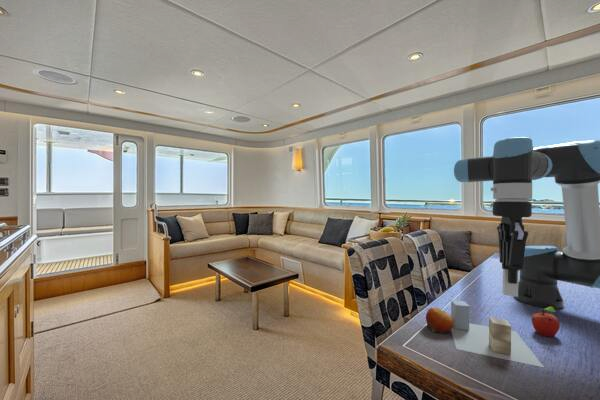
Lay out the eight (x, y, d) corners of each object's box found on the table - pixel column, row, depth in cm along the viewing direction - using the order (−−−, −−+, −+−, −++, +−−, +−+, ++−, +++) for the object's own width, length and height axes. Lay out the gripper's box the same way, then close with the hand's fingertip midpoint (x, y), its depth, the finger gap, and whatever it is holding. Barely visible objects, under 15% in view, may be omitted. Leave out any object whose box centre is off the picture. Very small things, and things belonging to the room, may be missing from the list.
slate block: (464, 325, 85) (464, 301, 85) (469, 331, 81) (469, 306, 81) (451, 323, 86) (451, 300, 86) (455, 329, 82) (455, 305, 82)
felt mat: (515, 332, 81) (515, 331, 81) (544, 369, 64) (544, 367, 64) (447, 320, 89) (447, 319, 89) (456, 350, 71) (456, 349, 71)
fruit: (415, 320, 86) (427, 300, 86) (434, 331, 86) (445, 311, 87) (429, 333, 78) (442, 310, 78) (450, 345, 78) (462, 322, 79)
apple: (524, 329, 83) (524, 299, 83) (543, 329, 83) (543, 298, 83) (548, 343, 75) (549, 309, 75) (569, 342, 76) (570, 309, 76)
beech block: (505, 347, 72) (506, 319, 72) (510, 355, 68) (511, 326, 68) (488, 344, 74) (489, 317, 74) (492, 352, 70) (493, 323, 70)
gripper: (486, 200, 71) (485, 284, 71) (501, 200, 59) (500, 301, 59) (520, 201, 68) (518, 288, 68) (543, 201, 56) (541, 307, 56)
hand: (510, 294), depth 64 cm, fingers closed
